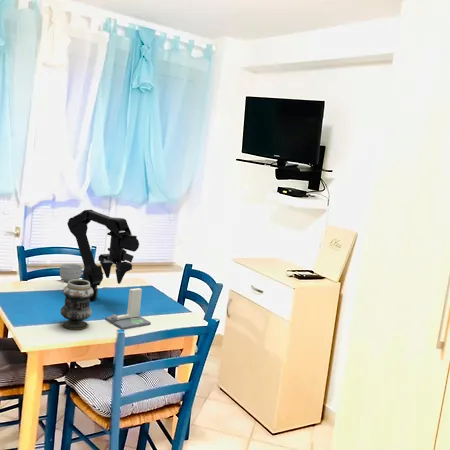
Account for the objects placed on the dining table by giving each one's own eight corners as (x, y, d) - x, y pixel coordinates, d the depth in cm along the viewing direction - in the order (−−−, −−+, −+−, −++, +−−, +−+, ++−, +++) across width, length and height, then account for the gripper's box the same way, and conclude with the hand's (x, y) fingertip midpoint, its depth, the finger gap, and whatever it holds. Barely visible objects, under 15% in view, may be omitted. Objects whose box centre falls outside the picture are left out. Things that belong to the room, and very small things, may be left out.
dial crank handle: (109, 319, 224) (112, 291, 222) (136, 315, 233) (139, 287, 231) (112, 321, 223) (115, 292, 221) (139, 316, 232) (142, 289, 230)
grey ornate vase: (90, 331, 212) (94, 287, 209) (58, 330, 210) (61, 285, 207) (91, 320, 224) (94, 278, 221) (60, 319, 221) (64, 276, 218)
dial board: (105, 319, 227) (105, 316, 227) (132, 314, 237) (133, 312, 237) (122, 329, 218) (122, 327, 218) (150, 324, 228) (150, 322, 228)
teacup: (61, 283, 268) (62, 268, 267) (56, 277, 277) (58, 262, 276) (89, 283, 274) (90, 268, 273) (84, 277, 284) (85, 262, 283)
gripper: (143, 250, 239) (140, 284, 241) (120, 241, 252) (117, 273, 254) (122, 252, 231) (119, 287, 233) (99, 242, 244) (96, 275, 246)
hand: (113, 280), depth 242 cm, fingers open, 9 cm apart
